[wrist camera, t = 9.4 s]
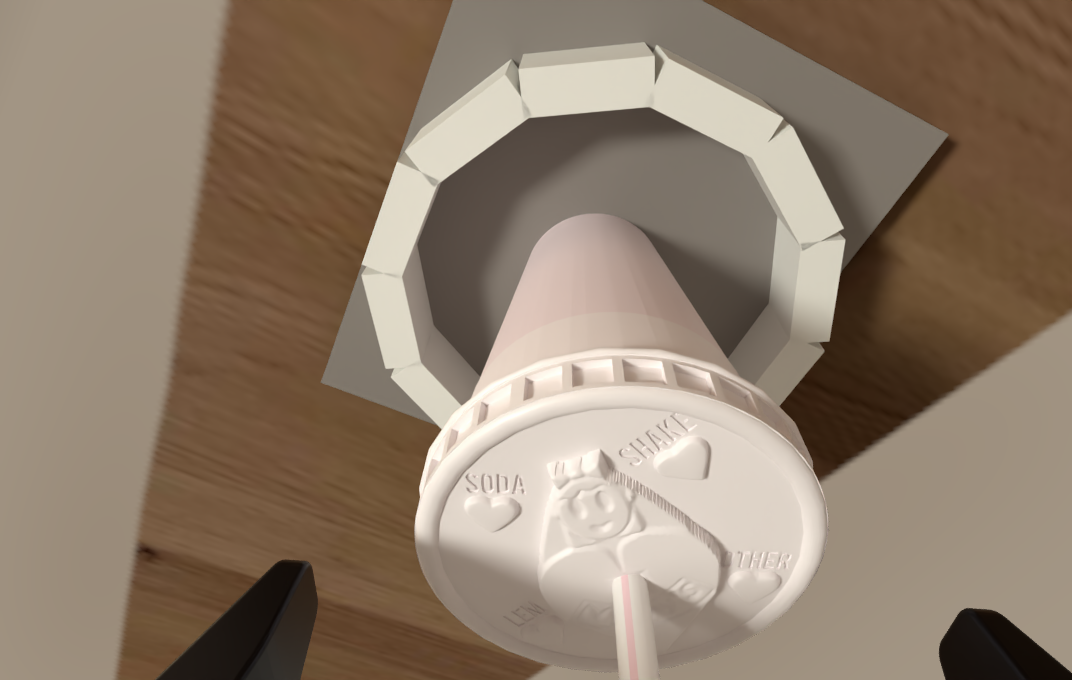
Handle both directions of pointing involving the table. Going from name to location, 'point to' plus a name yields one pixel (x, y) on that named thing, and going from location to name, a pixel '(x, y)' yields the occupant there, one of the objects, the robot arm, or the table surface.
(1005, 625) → the robot arm
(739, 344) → the socket board
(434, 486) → the smoothie
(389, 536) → the table surface
